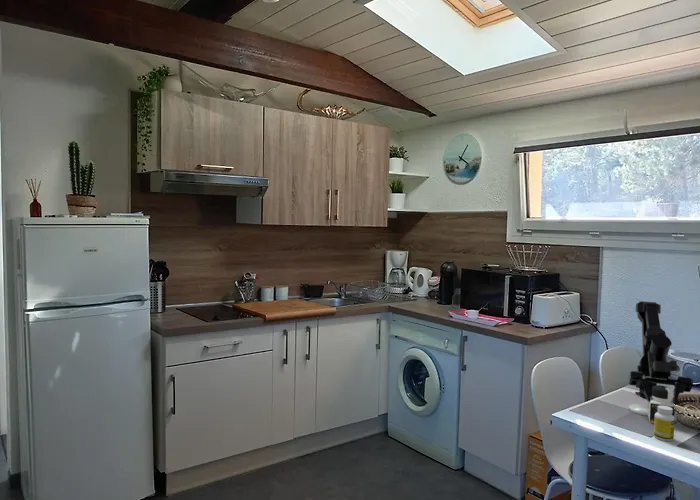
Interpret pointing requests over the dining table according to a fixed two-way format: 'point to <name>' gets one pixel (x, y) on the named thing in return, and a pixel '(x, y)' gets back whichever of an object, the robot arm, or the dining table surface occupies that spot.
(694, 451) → the dining table surface
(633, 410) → the white round dome
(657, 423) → the supplement bottle
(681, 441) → the dining table surface
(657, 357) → the robot arm
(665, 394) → the medicine bottle
